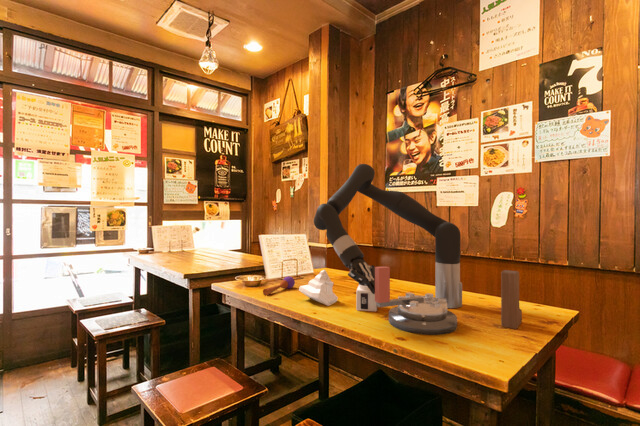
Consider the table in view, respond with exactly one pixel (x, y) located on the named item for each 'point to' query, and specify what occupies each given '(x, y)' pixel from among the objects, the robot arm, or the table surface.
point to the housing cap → (423, 324)
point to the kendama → (286, 283)
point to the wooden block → (510, 299)
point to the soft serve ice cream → (320, 289)
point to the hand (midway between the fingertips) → (376, 292)
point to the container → (365, 299)
